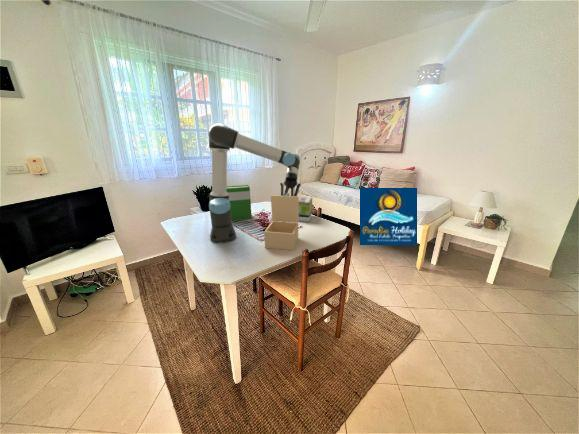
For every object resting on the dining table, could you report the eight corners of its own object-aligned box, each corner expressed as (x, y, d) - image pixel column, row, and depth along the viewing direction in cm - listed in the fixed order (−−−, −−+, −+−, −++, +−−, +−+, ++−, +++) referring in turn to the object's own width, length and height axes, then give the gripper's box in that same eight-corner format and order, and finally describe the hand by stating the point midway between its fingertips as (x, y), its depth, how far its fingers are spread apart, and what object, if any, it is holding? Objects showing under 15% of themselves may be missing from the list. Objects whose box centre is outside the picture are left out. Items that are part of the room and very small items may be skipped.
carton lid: (270, 195, 130) (274, 191, 137) (272, 221, 136) (275, 215, 144) (298, 196, 127) (300, 192, 134) (298, 222, 133) (300, 217, 141)
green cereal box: (250, 215, 175) (248, 184, 167) (251, 218, 169) (249, 186, 161) (226, 217, 170) (223, 186, 162) (227, 221, 164) (224, 188, 156)
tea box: (309, 222, 161) (310, 202, 156) (295, 221, 163) (295, 201, 158) (311, 215, 175) (312, 196, 170) (299, 214, 177) (299, 196, 172)
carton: (264, 247, 124) (264, 231, 121) (272, 235, 139) (272, 221, 136) (293, 250, 121) (293, 234, 118) (298, 237, 136) (298, 223, 133)
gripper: (303, 179, 148) (299, 211, 138) (281, 178, 151) (275, 209, 141) (302, 172, 141) (298, 205, 132) (279, 171, 144) (273, 204, 135)
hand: (286, 207), depth 136 cm, fingers closed on carton lid, 2 cm apart
